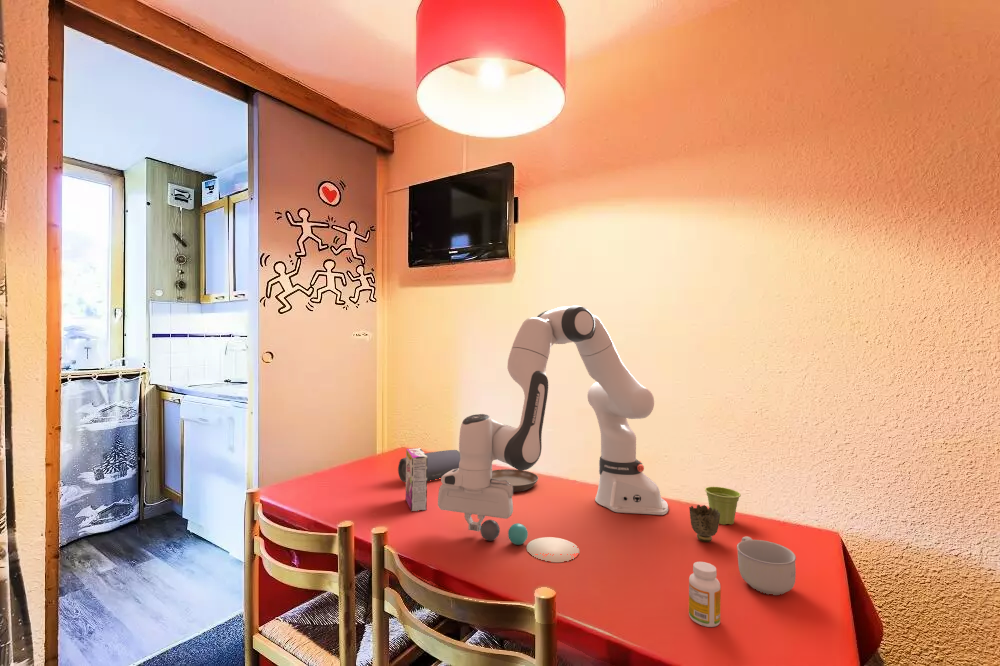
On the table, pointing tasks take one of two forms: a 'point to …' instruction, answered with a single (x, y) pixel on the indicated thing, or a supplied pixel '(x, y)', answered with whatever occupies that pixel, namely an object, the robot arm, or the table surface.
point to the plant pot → (723, 503)
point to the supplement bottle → (704, 595)
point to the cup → (704, 522)
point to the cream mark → (552, 549)
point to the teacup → (766, 566)
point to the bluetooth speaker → (435, 464)
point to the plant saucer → (516, 478)
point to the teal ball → (517, 534)
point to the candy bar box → (416, 479)
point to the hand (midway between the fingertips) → (474, 529)
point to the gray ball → (490, 530)
